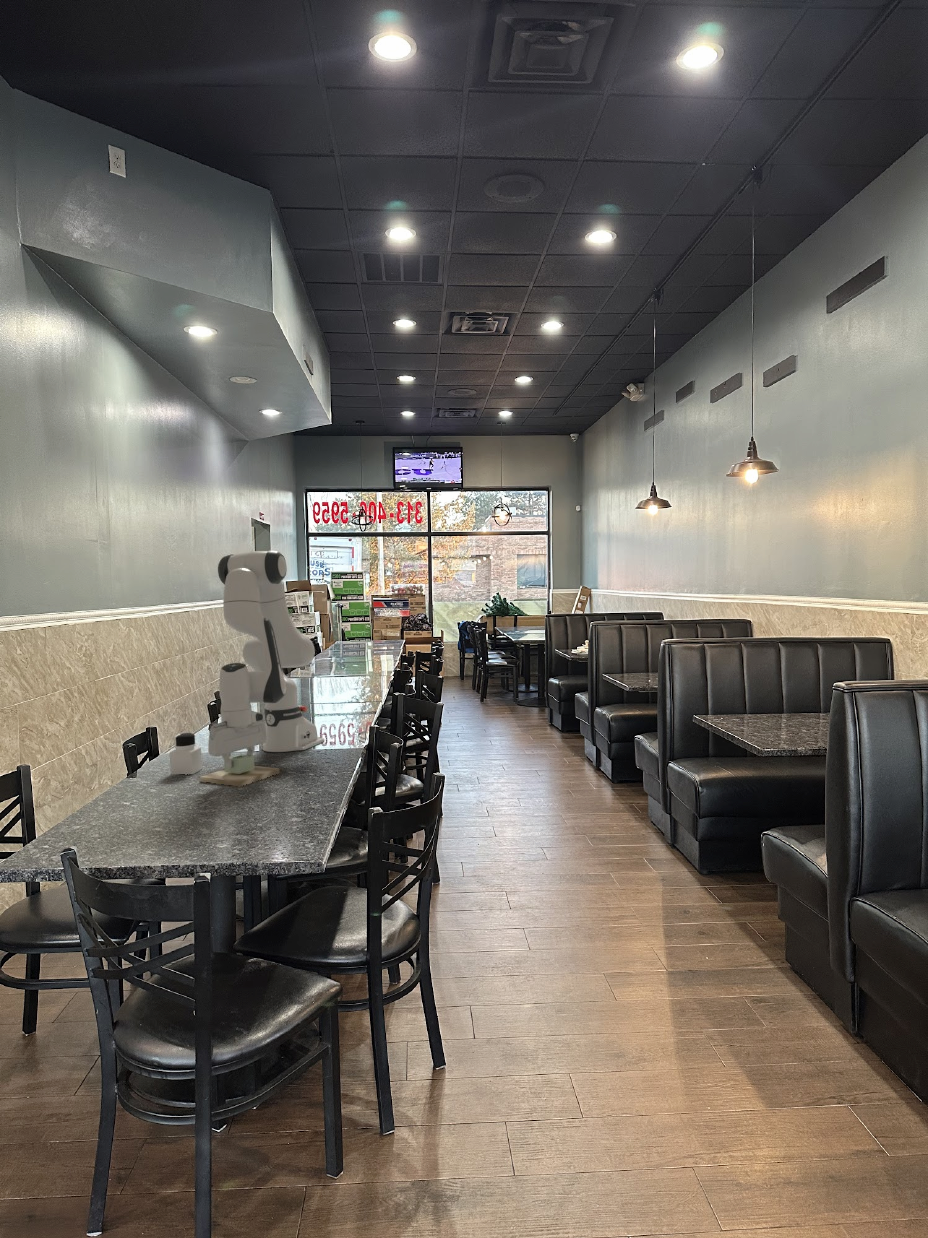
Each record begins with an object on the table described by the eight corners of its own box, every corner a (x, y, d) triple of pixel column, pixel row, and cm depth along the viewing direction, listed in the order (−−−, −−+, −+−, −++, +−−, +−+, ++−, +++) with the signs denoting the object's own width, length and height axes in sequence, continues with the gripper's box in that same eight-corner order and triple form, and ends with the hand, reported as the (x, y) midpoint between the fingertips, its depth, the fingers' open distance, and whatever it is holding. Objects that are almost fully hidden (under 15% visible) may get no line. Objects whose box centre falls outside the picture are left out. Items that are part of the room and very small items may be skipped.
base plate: (240, 769, 246) (240, 754, 246) (279, 773, 238) (278, 758, 238) (200, 781, 232) (199, 766, 232) (239, 787, 224) (238, 771, 224)
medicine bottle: (202, 769, 248) (200, 731, 248) (192, 775, 241) (190, 736, 240) (180, 769, 249) (178, 731, 248) (170, 775, 242) (167, 736, 241)
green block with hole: (240, 767, 239) (239, 754, 239) (254, 768, 236) (253, 755, 236) (225, 771, 234) (224, 758, 233) (239, 773, 231) (238, 760, 230)
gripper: (217, 725, 223) (220, 774, 224) (268, 713, 241) (271, 758, 242) (201, 724, 227) (204, 772, 227) (253, 712, 244) (256, 756, 245)
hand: (239, 764), depth 235 cm, fingers closed on green block with hole, 6 cm apart
